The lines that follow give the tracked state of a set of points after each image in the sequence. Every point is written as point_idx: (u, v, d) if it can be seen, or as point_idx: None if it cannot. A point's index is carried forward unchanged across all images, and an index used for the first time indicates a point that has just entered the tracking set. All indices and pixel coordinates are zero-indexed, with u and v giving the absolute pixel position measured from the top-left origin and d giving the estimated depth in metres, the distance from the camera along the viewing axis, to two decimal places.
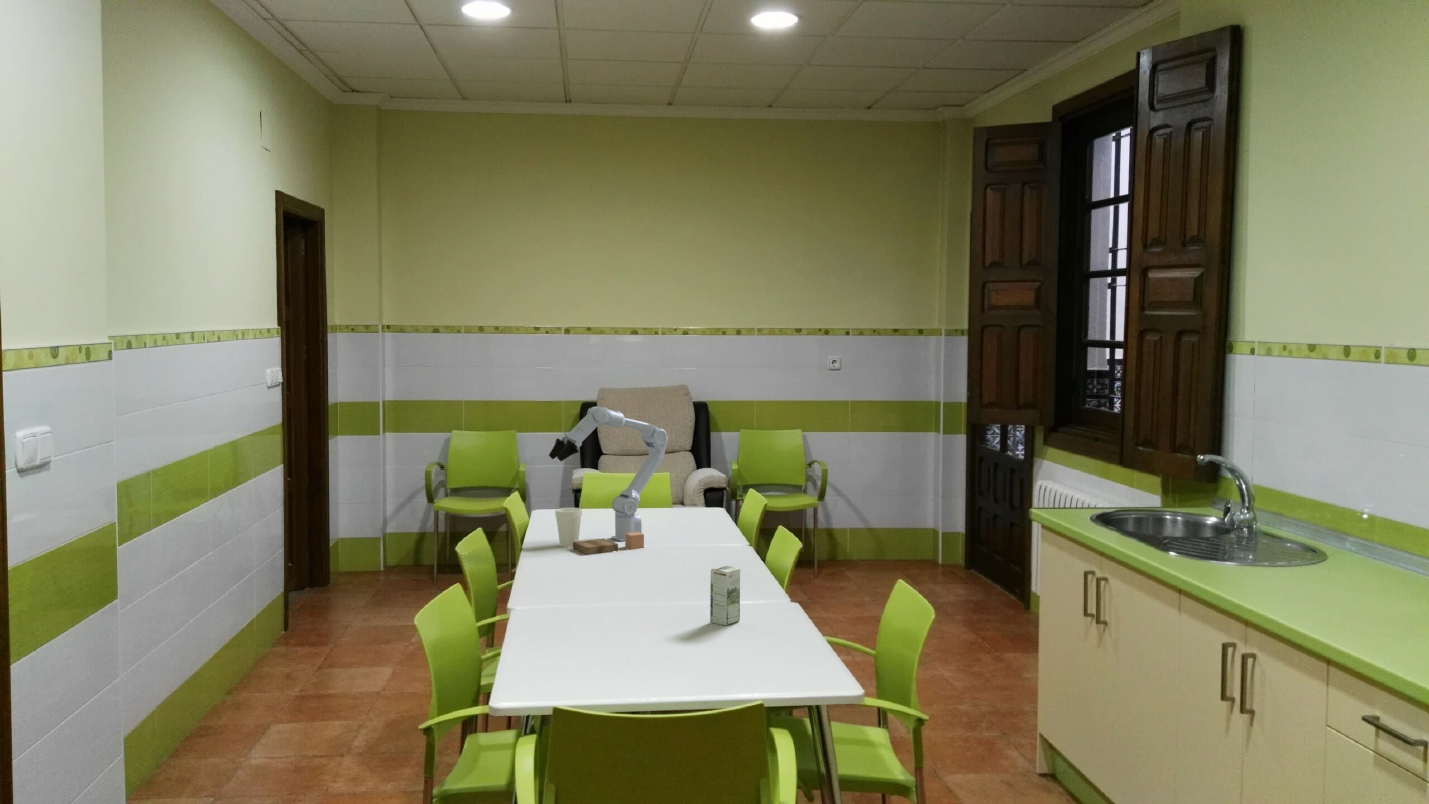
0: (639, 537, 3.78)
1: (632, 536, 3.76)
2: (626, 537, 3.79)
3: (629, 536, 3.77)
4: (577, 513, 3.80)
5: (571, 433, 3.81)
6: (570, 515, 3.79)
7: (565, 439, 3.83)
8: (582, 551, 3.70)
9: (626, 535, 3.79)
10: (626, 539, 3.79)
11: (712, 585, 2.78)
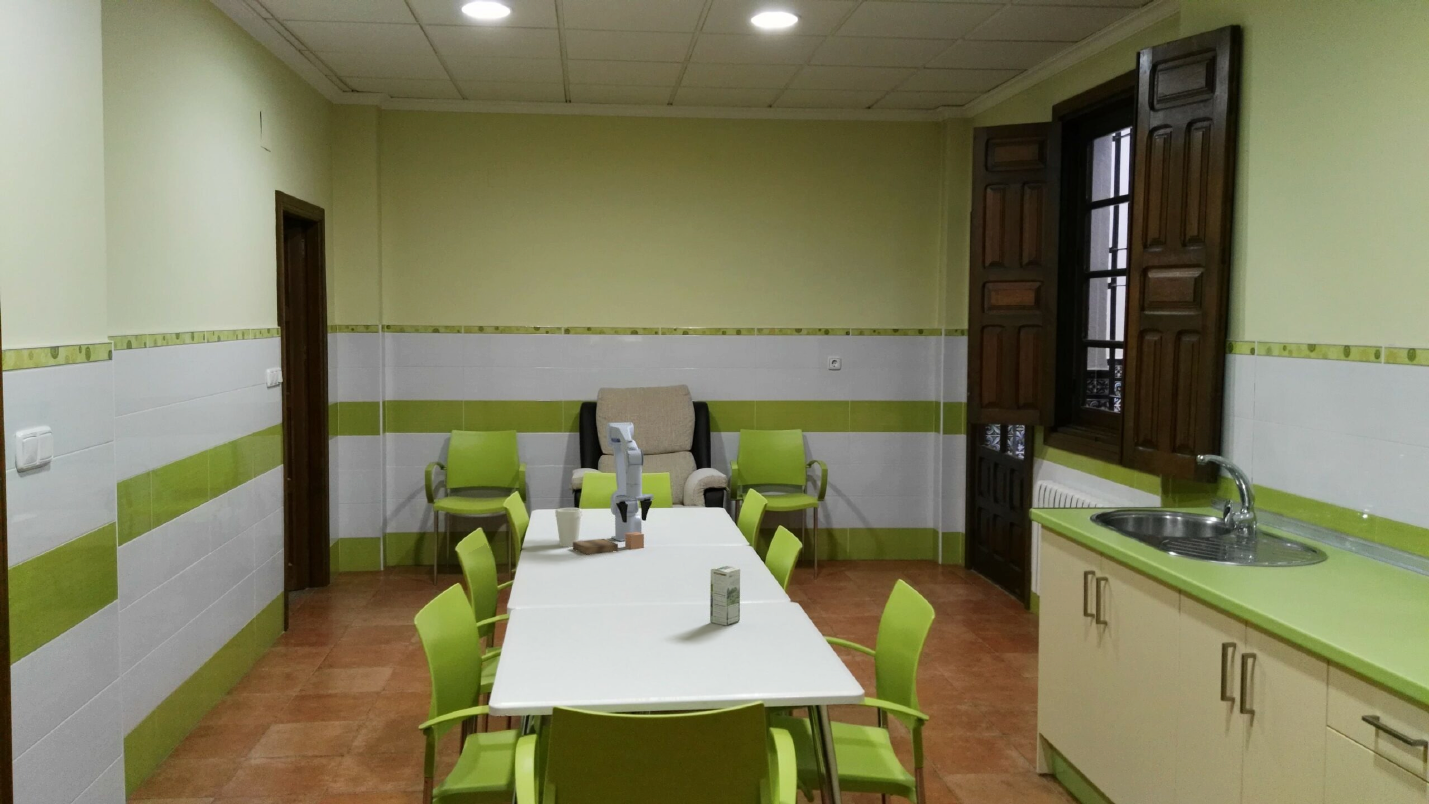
0: (639, 537, 3.78)
1: (632, 536, 3.76)
2: (626, 537, 3.79)
3: (629, 536, 3.77)
4: (577, 513, 3.80)
5: (640, 493, 3.77)
6: (570, 515, 3.79)
7: (629, 499, 3.76)
8: (582, 551, 3.70)
9: (626, 535, 3.79)
10: (626, 539, 3.79)
11: (712, 585, 2.78)
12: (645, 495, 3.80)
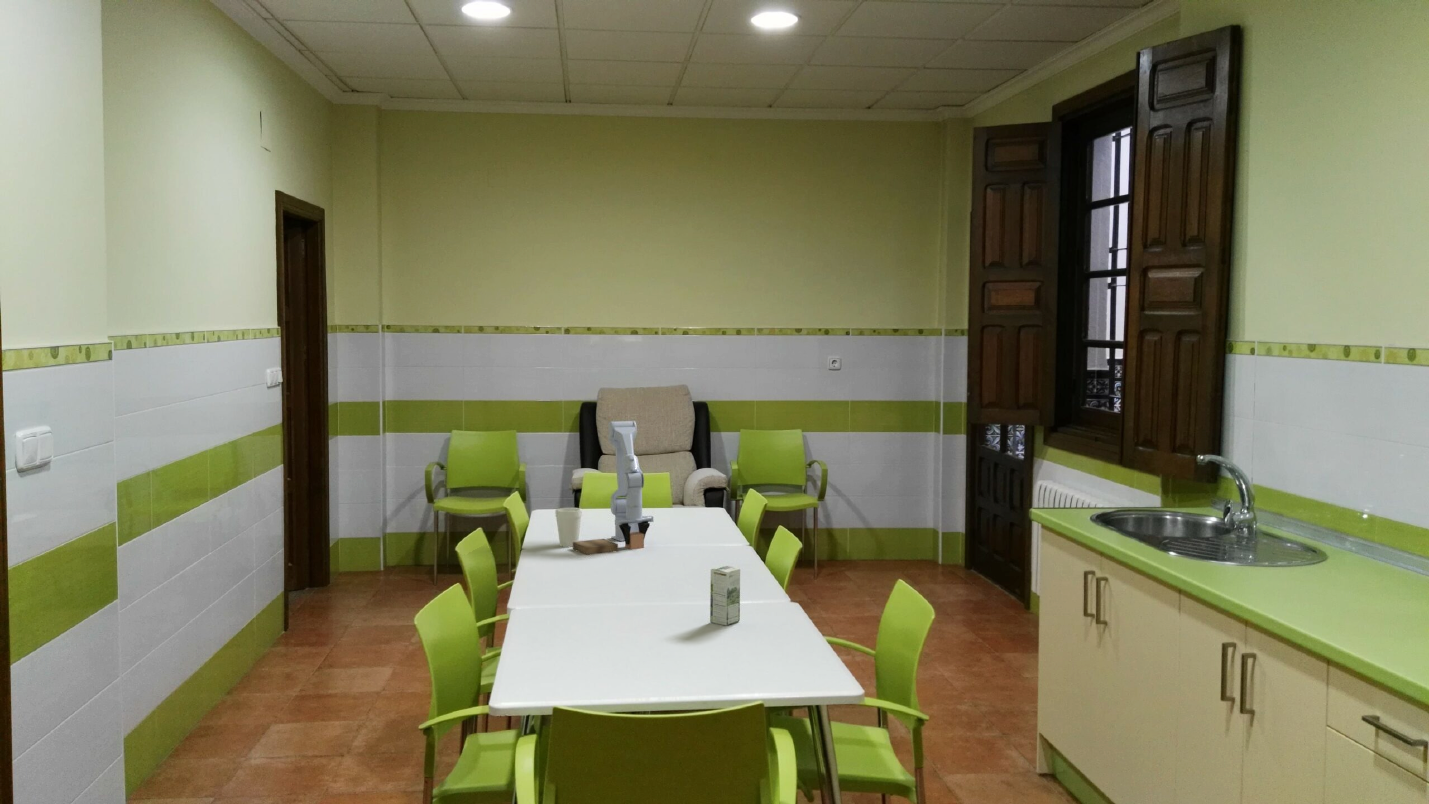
0: (639, 537, 3.78)
1: (632, 536, 3.76)
2: None
3: None
4: (577, 513, 3.80)
5: (640, 515, 3.77)
6: (570, 515, 3.79)
7: (629, 522, 3.77)
8: (582, 551, 3.70)
9: None
10: None
11: (712, 585, 2.78)
12: (645, 517, 3.81)
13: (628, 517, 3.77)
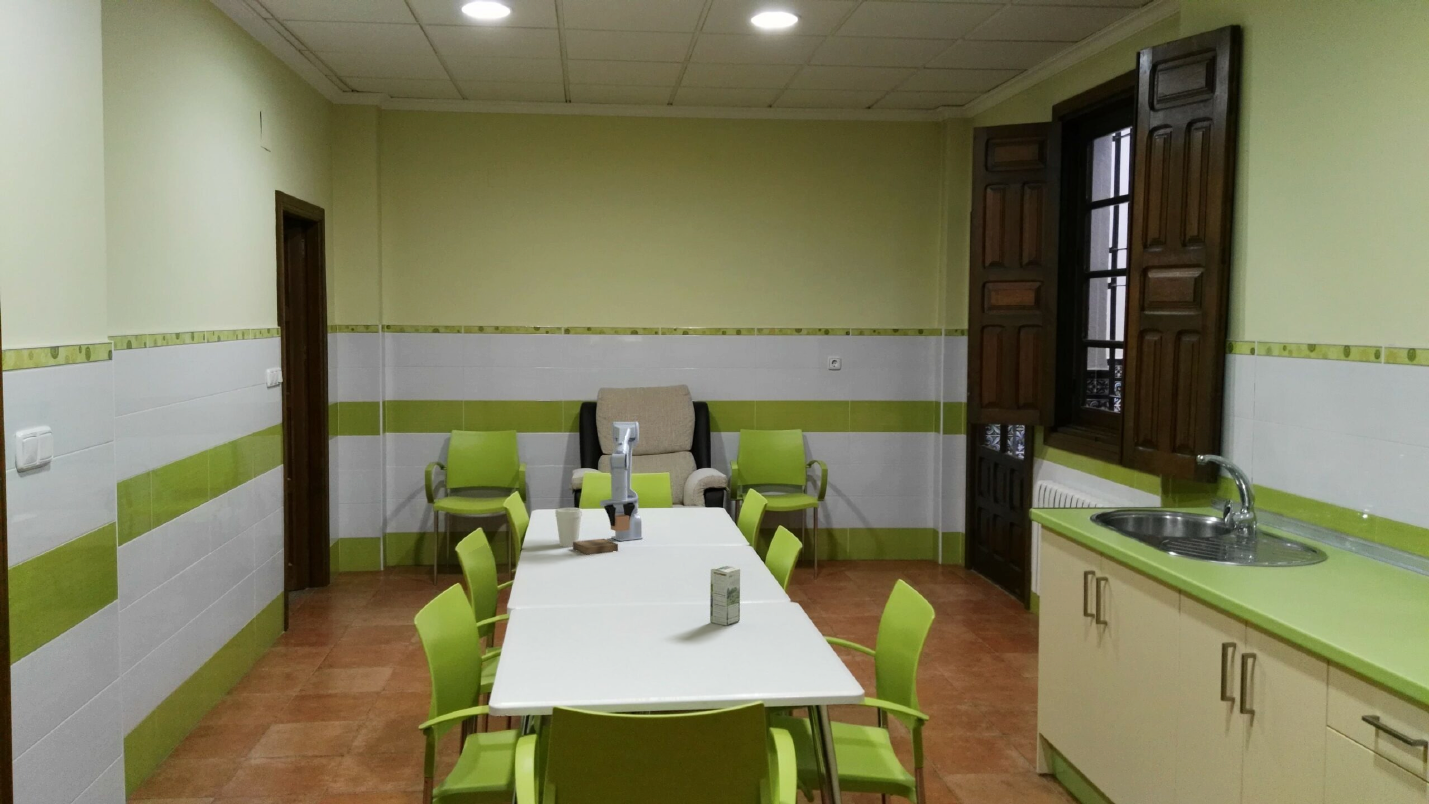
0: (625, 519, 3.75)
1: (617, 518, 3.74)
2: None
3: None
4: (577, 513, 3.80)
5: (625, 496, 3.75)
6: (570, 515, 3.79)
7: (615, 503, 3.74)
8: (582, 551, 3.70)
9: None
10: None
11: (712, 585, 2.78)
12: (630, 498, 3.79)
13: (613, 498, 3.75)
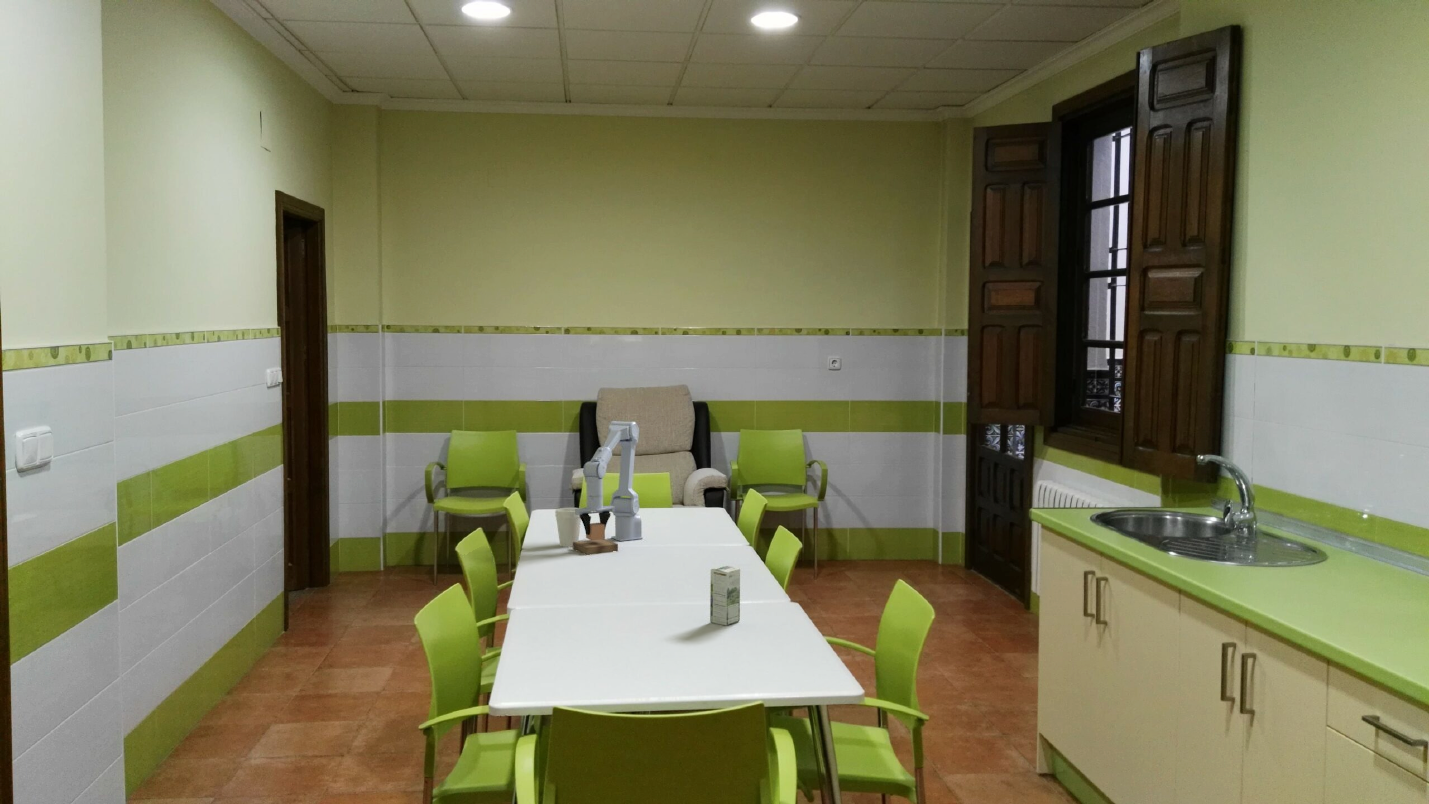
0: (600, 528, 3.73)
1: (592, 527, 3.71)
2: None
3: (590, 527, 3.72)
4: None
5: (600, 505, 3.72)
6: (570, 515, 3.79)
7: (590, 511, 3.72)
8: (582, 551, 3.70)
9: None
10: None
11: (712, 585, 2.78)
12: (606, 507, 3.76)
13: (588, 507, 3.72)
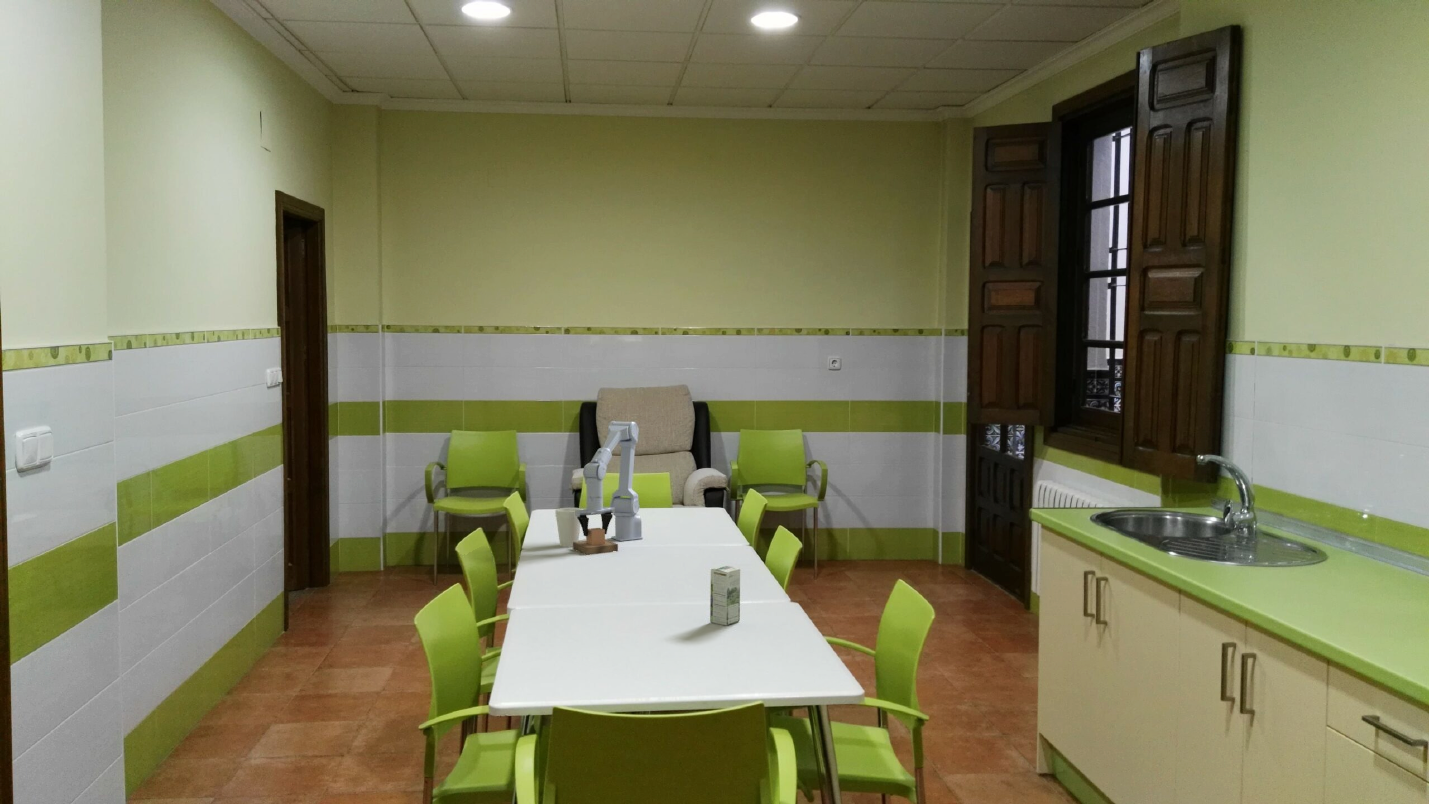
0: (600, 533, 3.73)
1: (593, 532, 3.71)
2: None
3: (590, 532, 3.72)
4: None
5: (600, 506, 3.72)
6: (570, 515, 3.79)
7: (590, 513, 3.72)
8: (582, 551, 3.70)
9: None
10: None
11: (712, 585, 2.78)
12: (606, 508, 3.76)
13: (588, 508, 3.72)
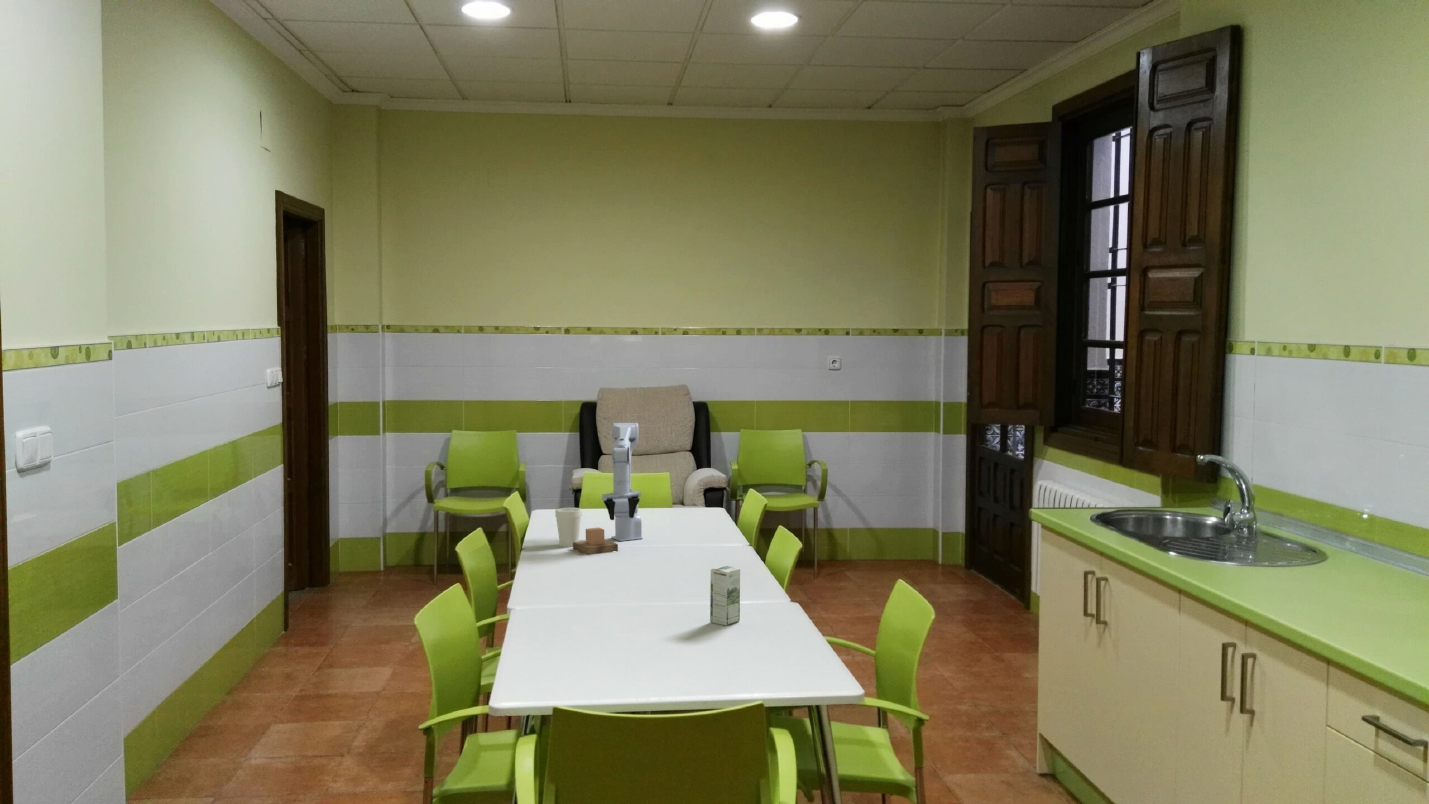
0: (599, 533, 3.73)
1: (592, 532, 3.71)
2: (586, 532, 3.74)
3: (589, 531, 3.72)
4: (577, 513, 3.80)
5: (627, 490, 3.76)
6: (570, 515, 3.79)
7: (617, 497, 3.76)
8: (582, 551, 3.70)
9: (586, 530, 3.74)
10: (586, 535, 3.75)
11: (712, 585, 2.78)
12: (633, 492, 3.80)
13: (615, 492, 3.76)
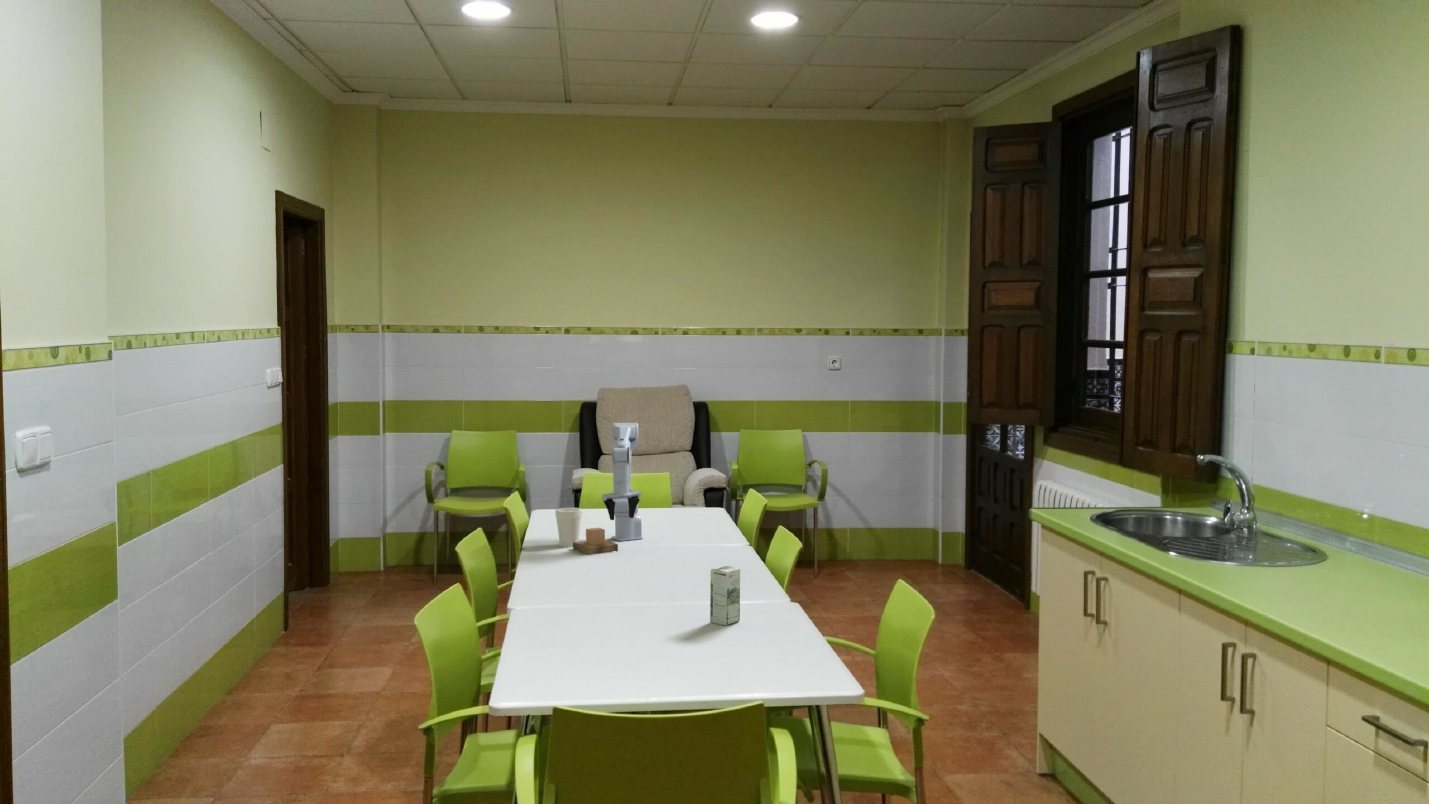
0: (600, 533, 3.73)
1: (593, 532, 3.71)
2: (587, 533, 3.75)
3: (590, 532, 3.72)
4: (577, 513, 3.80)
5: (627, 490, 3.76)
6: (570, 515, 3.79)
7: (617, 497, 3.76)
8: (582, 551, 3.70)
9: (587, 531, 3.75)
10: (587, 535, 3.75)
11: (712, 585, 2.78)
12: (633, 492, 3.80)
13: (615, 492, 3.76)
